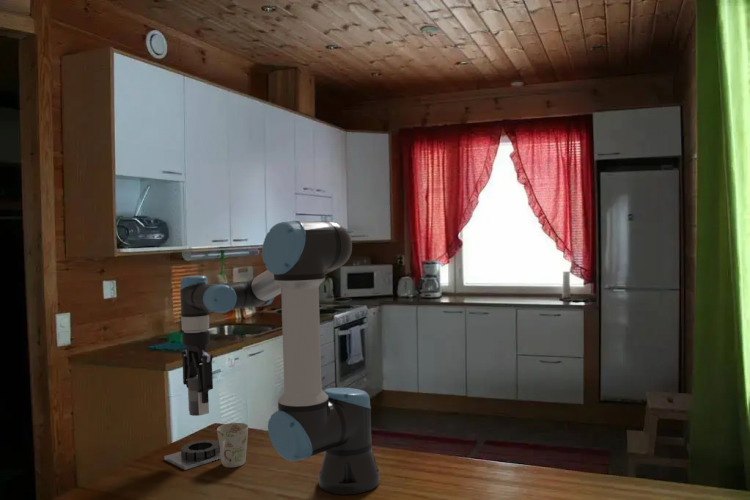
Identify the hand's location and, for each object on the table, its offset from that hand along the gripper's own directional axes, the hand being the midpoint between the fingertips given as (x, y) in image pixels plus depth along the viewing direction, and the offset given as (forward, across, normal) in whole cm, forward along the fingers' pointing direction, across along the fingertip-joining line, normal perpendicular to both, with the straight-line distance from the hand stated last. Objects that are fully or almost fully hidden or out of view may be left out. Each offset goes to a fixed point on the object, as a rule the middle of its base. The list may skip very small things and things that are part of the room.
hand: (198, 412), depth 173 cm
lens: (0, 0, 0) cm, 0 cm away
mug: (+13, -14, -2) cm, 19 cm away
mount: (+13, 0, 0) cm, 13 cm away
